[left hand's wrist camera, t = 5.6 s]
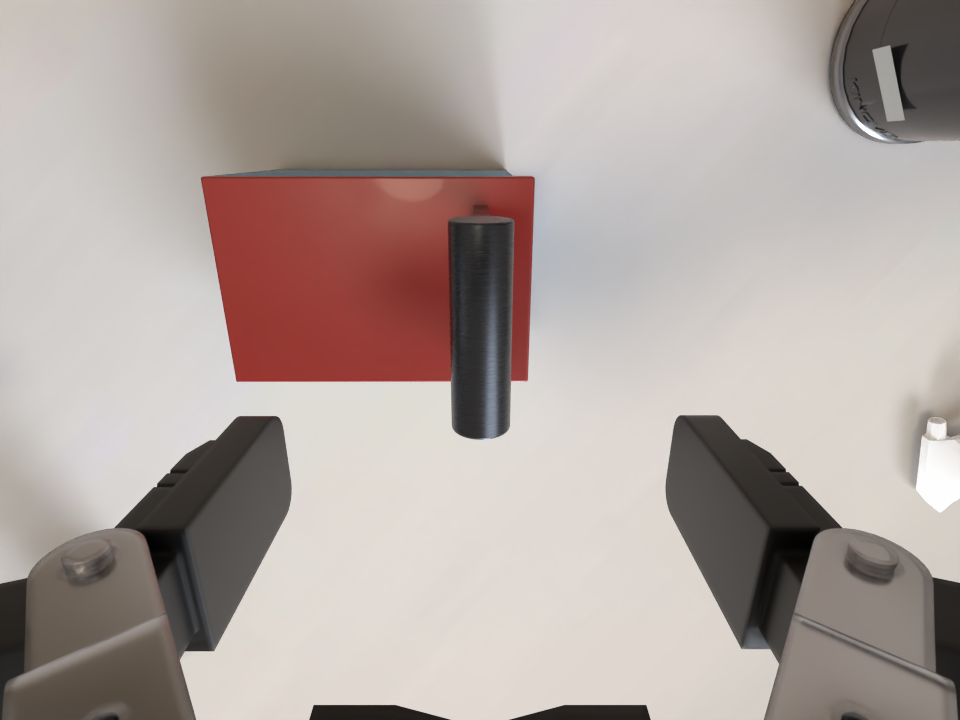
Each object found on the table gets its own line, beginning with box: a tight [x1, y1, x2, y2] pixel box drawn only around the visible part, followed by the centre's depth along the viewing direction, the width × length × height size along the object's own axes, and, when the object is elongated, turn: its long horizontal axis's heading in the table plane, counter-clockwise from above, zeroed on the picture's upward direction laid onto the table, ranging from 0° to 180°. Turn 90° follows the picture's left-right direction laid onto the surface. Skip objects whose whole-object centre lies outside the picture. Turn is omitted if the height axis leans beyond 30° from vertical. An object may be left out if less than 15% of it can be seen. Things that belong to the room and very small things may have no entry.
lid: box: [201, 176, 535, 440], centre depth 22 cm, size 14×10×9 cm
